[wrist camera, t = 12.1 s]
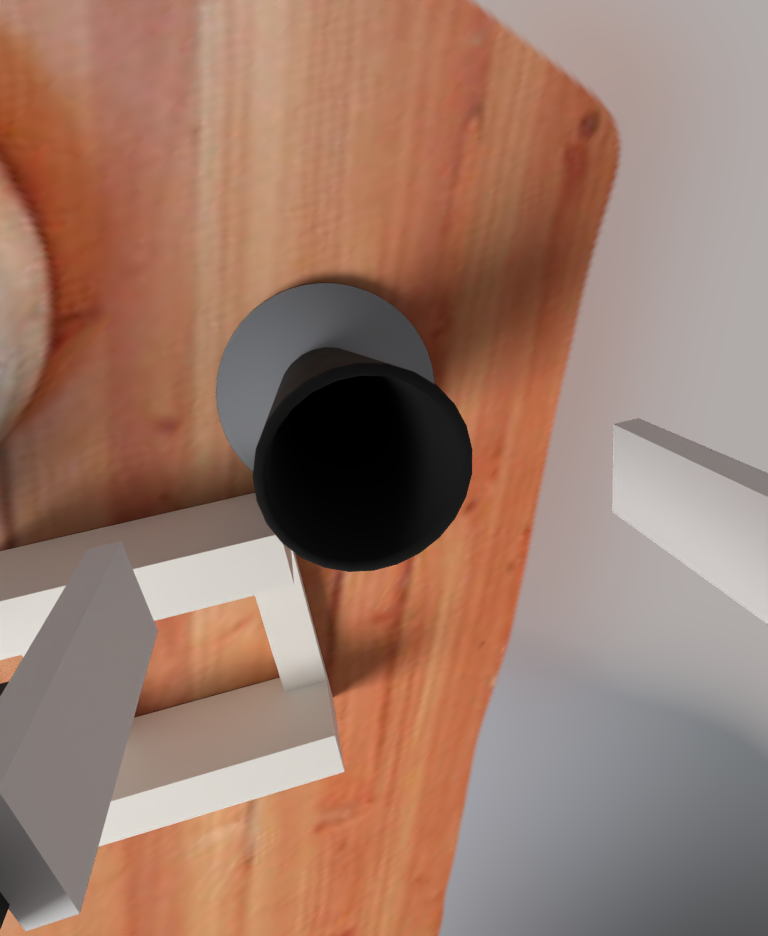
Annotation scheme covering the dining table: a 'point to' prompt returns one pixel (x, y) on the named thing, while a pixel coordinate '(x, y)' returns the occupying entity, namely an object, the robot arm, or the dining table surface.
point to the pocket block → (213, 718)
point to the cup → (360, 461)
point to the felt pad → (305, 350)
